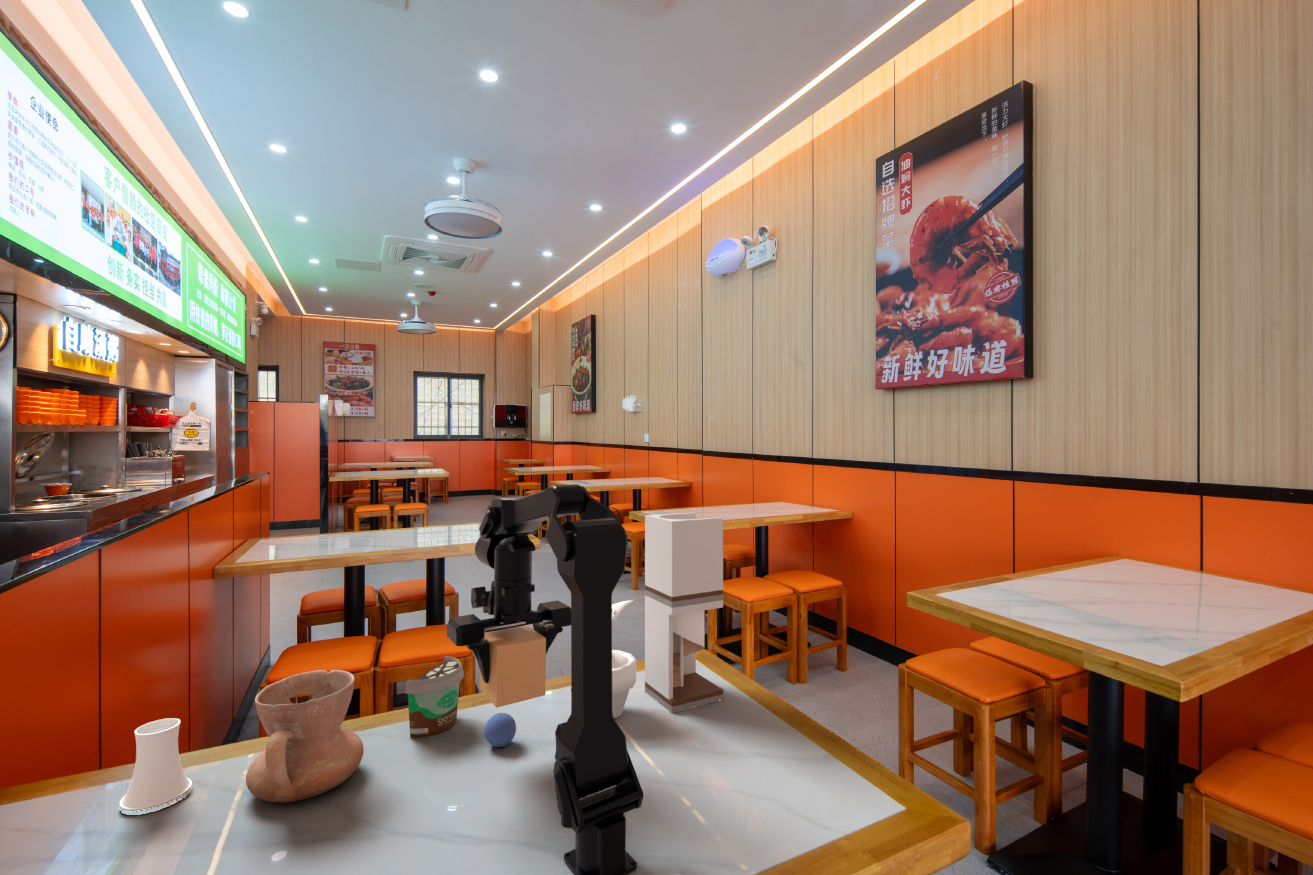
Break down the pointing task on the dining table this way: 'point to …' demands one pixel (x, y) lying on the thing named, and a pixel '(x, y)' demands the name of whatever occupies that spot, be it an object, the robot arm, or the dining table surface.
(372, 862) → the dining table surface
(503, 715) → the ball
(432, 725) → the food container
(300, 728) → the ceramic jug
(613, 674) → the potted plant
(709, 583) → the white coffee grinder
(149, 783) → the vase
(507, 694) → the tan wooden brick
